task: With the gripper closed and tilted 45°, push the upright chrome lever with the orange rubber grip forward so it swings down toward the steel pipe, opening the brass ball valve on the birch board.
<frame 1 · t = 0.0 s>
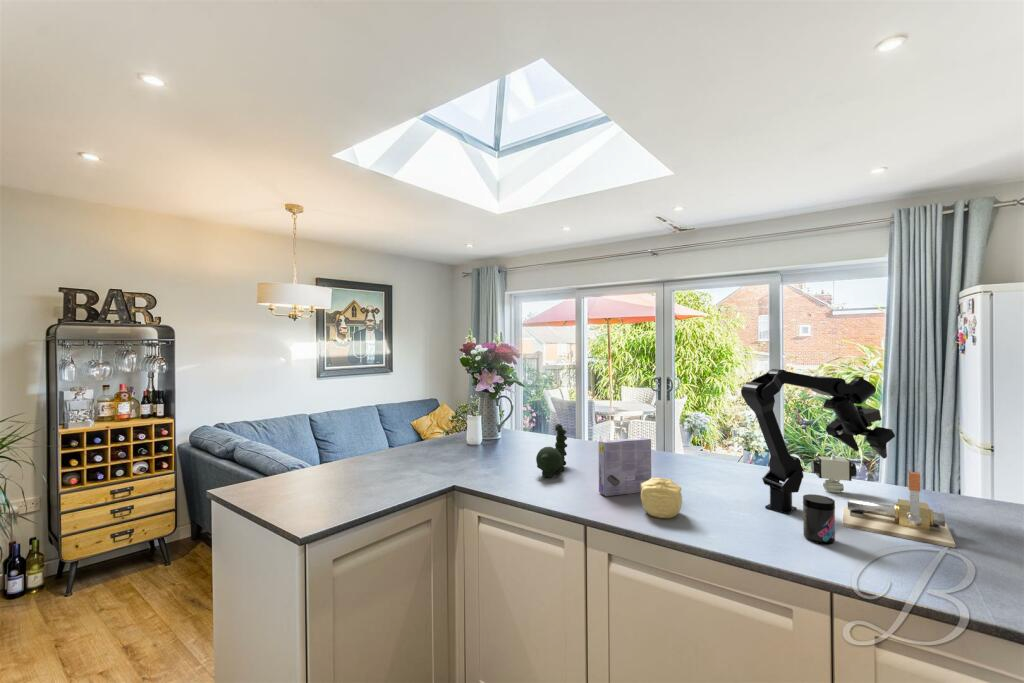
hand: (871, 454, 141), 15 cm above the table, tool tilted 35°, fingers open, 9 cm apart
cake pan box: (626, 492, 153), on the table
supplement container: (819, 540, 115), on the table
toy figurine: (553, 473, 176), on the table
valve lever: (914, 499, 118), point 9 cm above the table, hinge at 0.0°
mounting board: (914, 533, 118), on the table
valve pipe: (893, 511, 124), on the mounting board, point 4 cm above the table
sculpture: (661, 515, 133), on the table
pneumatic valve: (833, 491, 151), on the table
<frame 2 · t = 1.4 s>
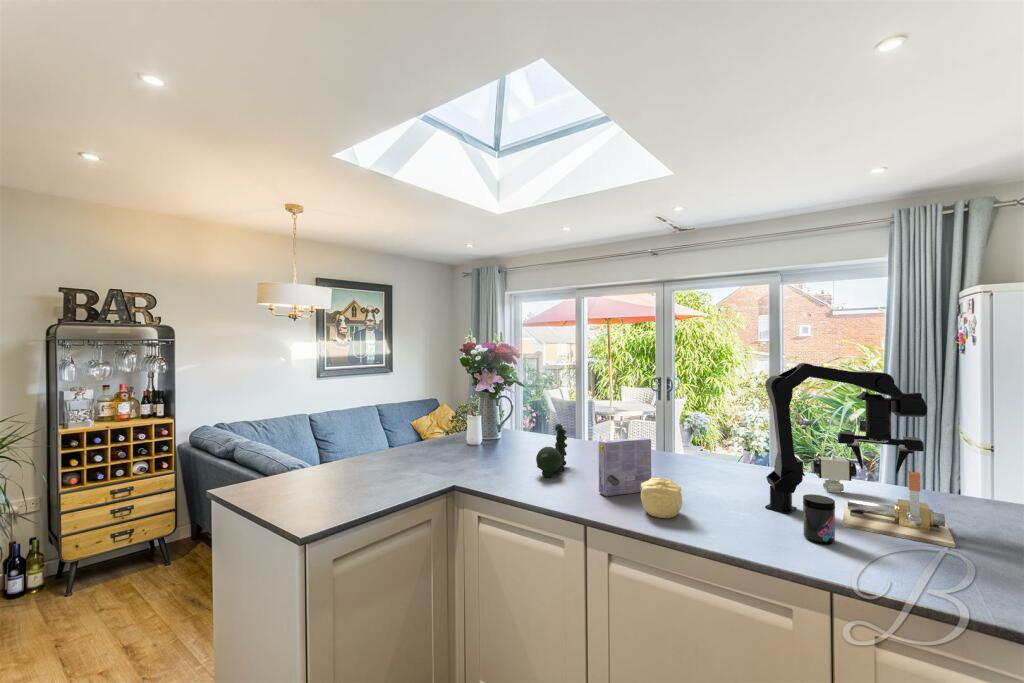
hand: (879, 470, 129), 13 cm above the table, tool pointing down, fingers open, 7 cm apart
nothing on the table moved.
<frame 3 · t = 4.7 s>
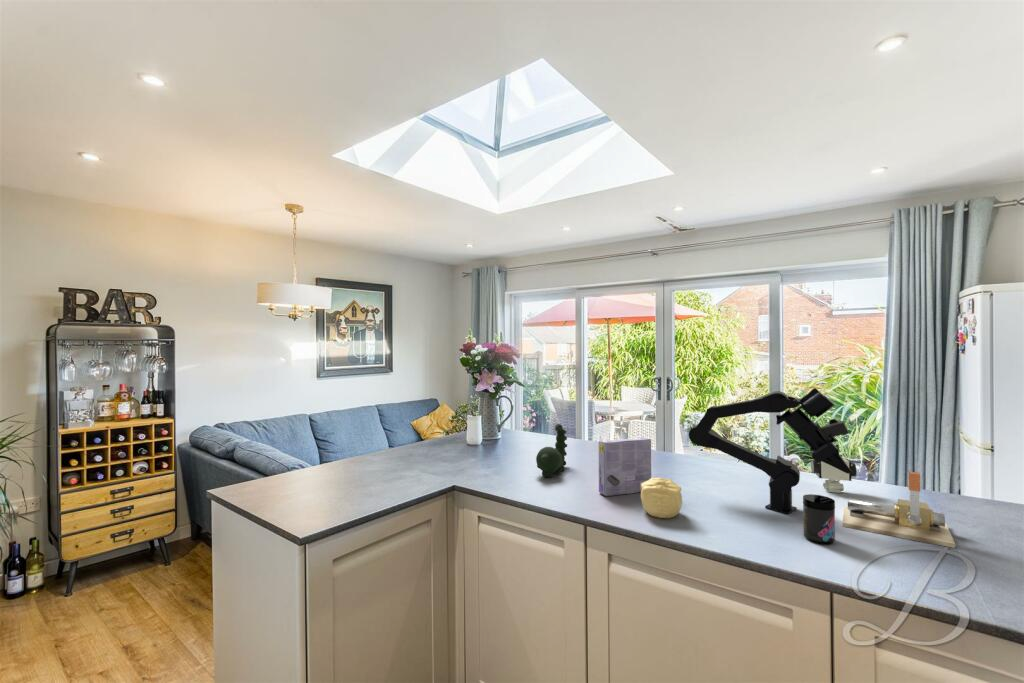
hand: (849, 472, 126), 14 cm above the table, tool tilted 45°, fingers closed
nothing on the table moved.
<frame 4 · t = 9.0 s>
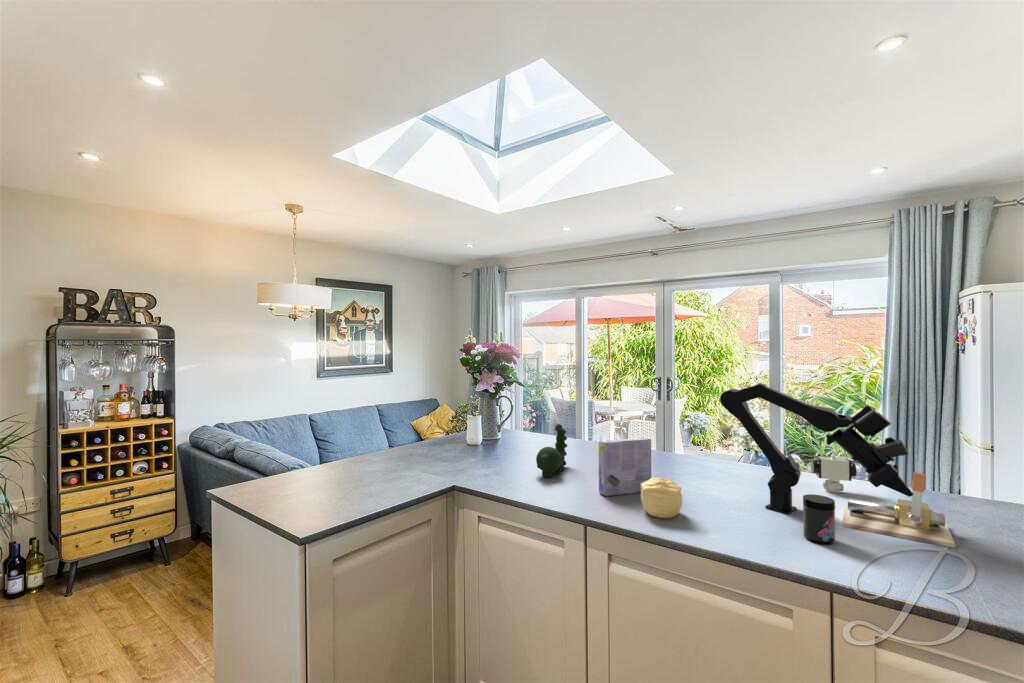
hand: (911, 495, 118), 10 cm above the table, tool tilted 45°, fingers closed, pressing on valve lever
valve lever: (916, 499, 118), point 9 cm above the table, hinge at 5.0°, touching gripper
everything else where it was.
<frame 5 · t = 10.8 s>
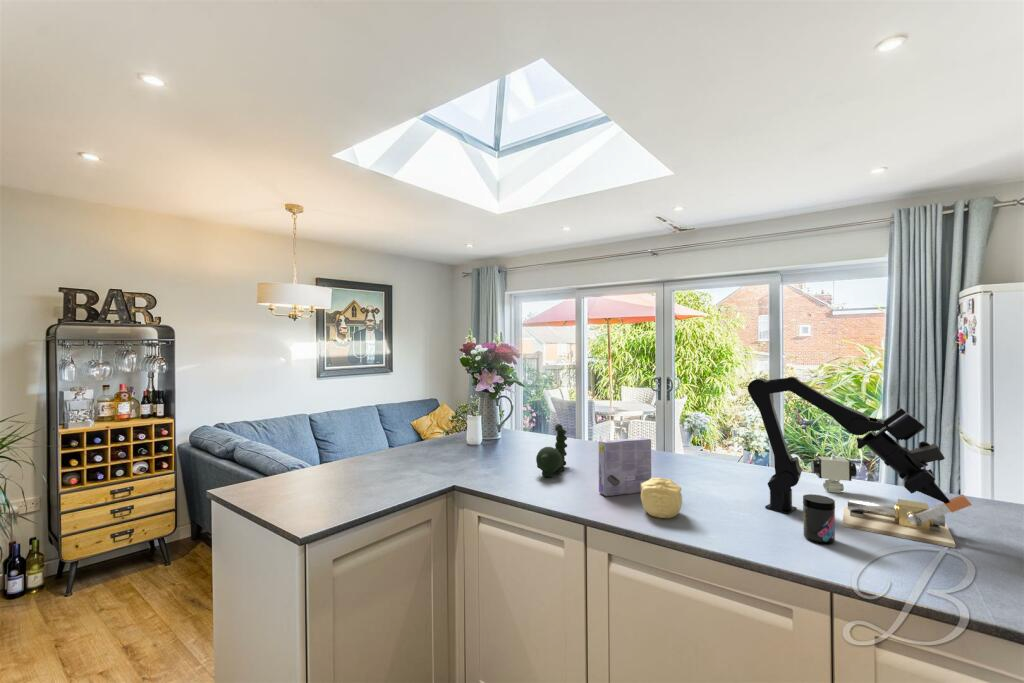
hand: (947, 501, 114), 10 cm above the table, tool tilted 45°, fingers closed, pressing on valve lever
valve lever: (937, 511, 115), point 7 cm above the table, hinge at 53.6°, touching gripper
everything else where it was.
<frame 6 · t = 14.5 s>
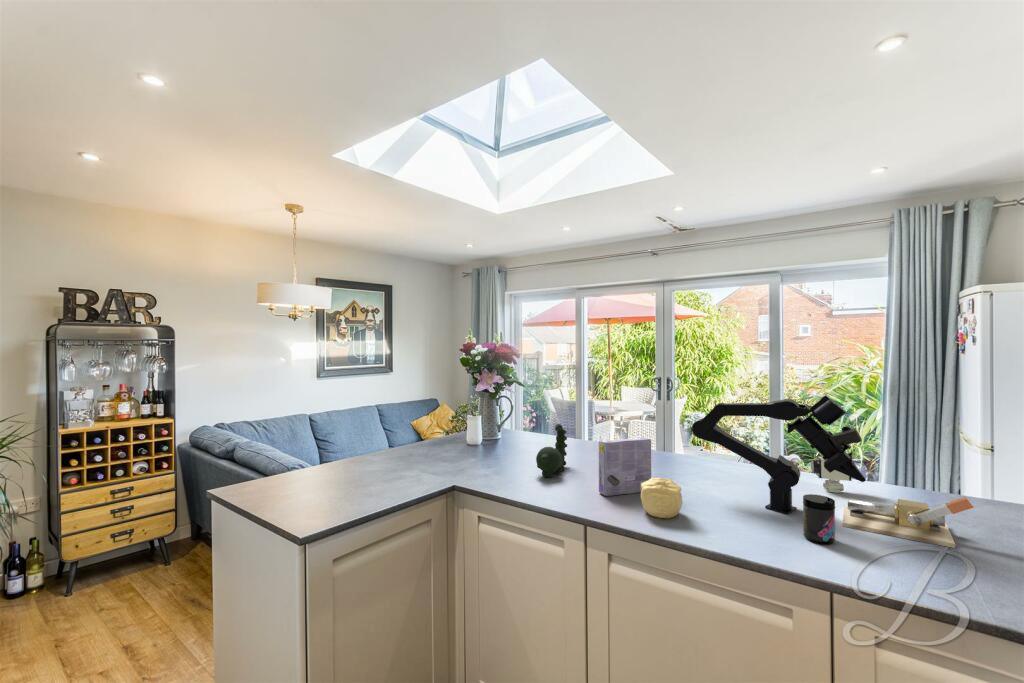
hand: (864, 481, 124), 12 cm above the table, tool tilted 45°, fingers closed
valve lever: (938, 512, 115), point 7 cm above the table, hinge at 56.5°
everything else where it was.
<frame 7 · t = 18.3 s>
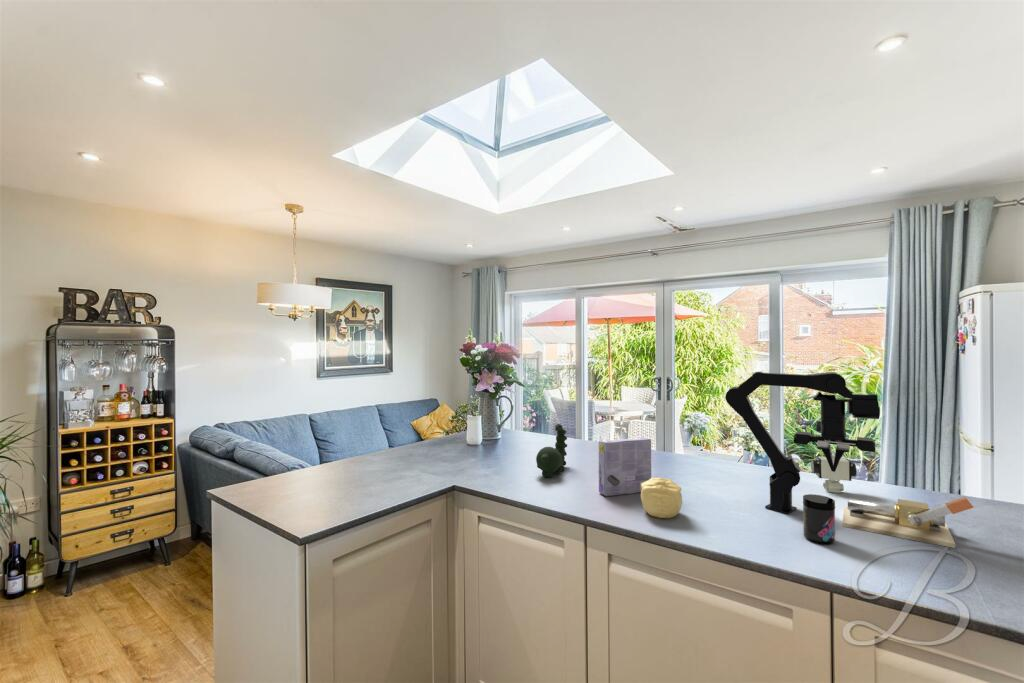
hand: (833, 471, 130), 13 cm above the table, tool pointing down, fingers closed
nothing on the table moved.
at the end: valve lever at +56° (first picture: +0°) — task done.
